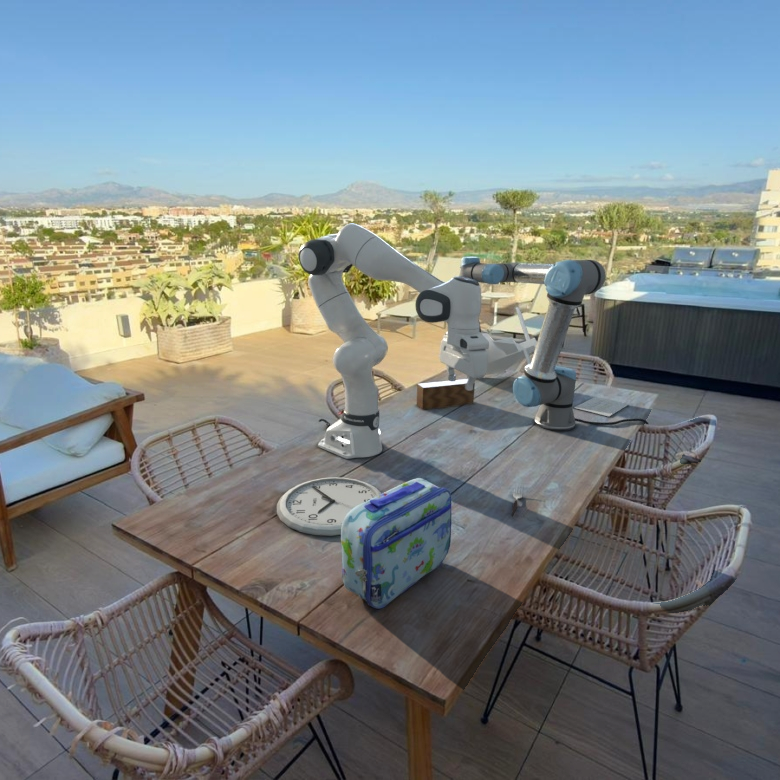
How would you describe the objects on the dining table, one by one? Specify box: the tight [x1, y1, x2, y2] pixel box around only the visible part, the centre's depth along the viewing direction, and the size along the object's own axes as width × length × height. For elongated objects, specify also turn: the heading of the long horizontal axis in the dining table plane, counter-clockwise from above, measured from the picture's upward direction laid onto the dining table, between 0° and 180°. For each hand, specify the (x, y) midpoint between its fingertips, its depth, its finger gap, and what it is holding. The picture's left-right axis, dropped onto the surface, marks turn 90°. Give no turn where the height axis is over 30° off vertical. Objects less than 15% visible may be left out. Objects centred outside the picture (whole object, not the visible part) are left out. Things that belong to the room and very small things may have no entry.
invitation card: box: [573, 396, 629, 418], centre depth 226 cm, size 21×1×15 cm
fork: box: [511, 484, 525, 517], centre depth 145 cm, size 3×16×2 cm, turn 160°
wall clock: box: [276, 476, 383, 537], centre depth 142 cm, size 30×2×30 cm
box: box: [416, 378, 476, 410], centre depth 224 cm, size 24×6×10 cm, turn 111°
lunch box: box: [340, 477, 452, 610], centre depth 110 cm, size 26×11×21 cm, turn 134°
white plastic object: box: [481, 306, 538, 376], centre depth 260 cm, size 37×45×31 cm
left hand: (460, 385), depth 148 cm, fingers open, 8 cm apart
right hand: (465, 346), depth 221 cm, fingers open, 13 cm apart
